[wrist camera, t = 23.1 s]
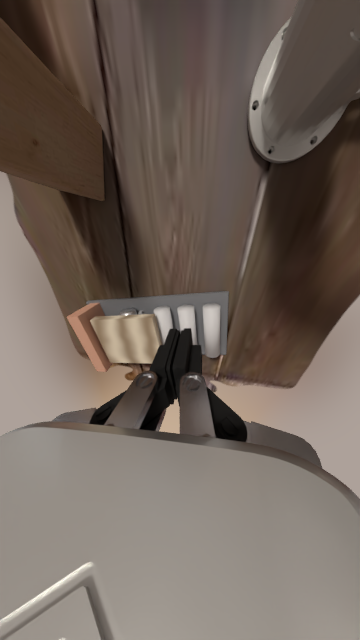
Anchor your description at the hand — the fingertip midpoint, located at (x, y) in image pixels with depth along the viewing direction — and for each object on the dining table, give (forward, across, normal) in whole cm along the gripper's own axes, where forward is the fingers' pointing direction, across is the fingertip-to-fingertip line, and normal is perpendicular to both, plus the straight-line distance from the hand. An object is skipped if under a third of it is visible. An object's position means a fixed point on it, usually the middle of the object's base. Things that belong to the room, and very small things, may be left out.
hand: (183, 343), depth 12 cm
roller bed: (+25, +12, +14) cm, 31 cm away
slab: (+20, +18, +14) cm, 30 cm away
